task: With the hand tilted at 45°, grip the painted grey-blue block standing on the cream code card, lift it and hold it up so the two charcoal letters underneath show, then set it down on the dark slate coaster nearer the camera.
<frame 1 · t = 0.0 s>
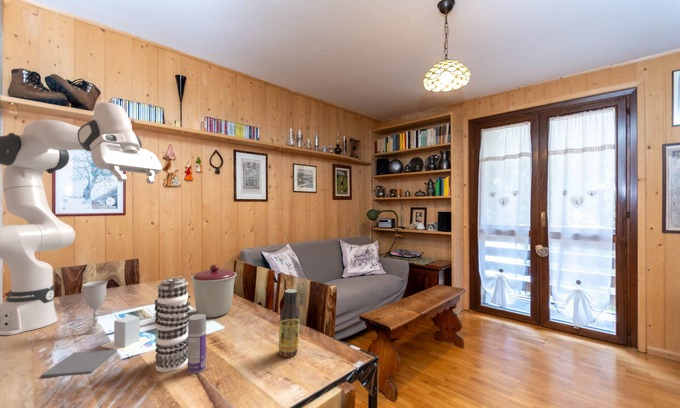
hand: (137, 182, 95), 54 cm above the table, tool tilted 30°, fingers open, 8 cm apart
slate coaster: (81, 364, 86), on the table
chalice: (95, 332, 107), on the table
container: (196, 369, 83), on the table
code card: (127, 343, 98), on the table
grey blue block: (127, 342, 98), resting on code card
canister: (214, 313, 126), on the table
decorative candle: (172, 364, 86), on the table
sauce bottle: (288, 353, 93), on the table
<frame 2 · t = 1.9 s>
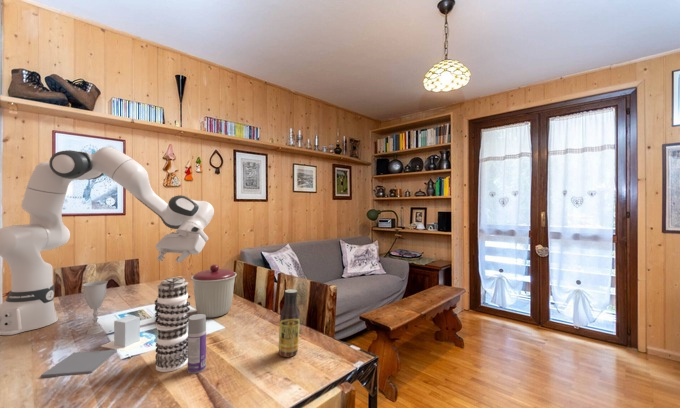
hand: (168, 260, 113), 25 cm above the table, tool tilted 45°, fingers open, 8 cm apart
nothing on the table moved.
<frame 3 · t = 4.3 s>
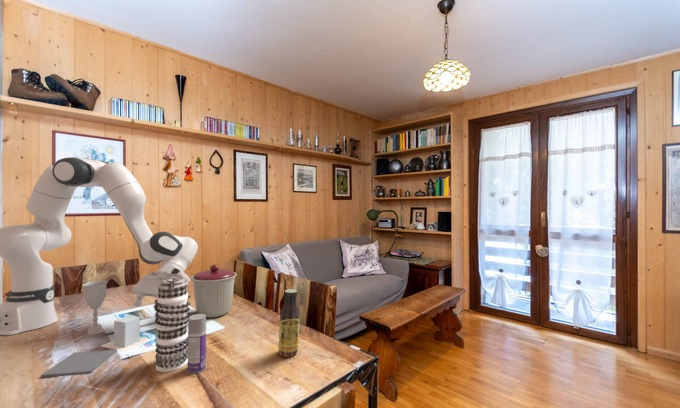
hand: (145, 307, 105), 10 cm above the table, tool tilted 45°, fingers open, 8 cm apart
nothing on the table moved.
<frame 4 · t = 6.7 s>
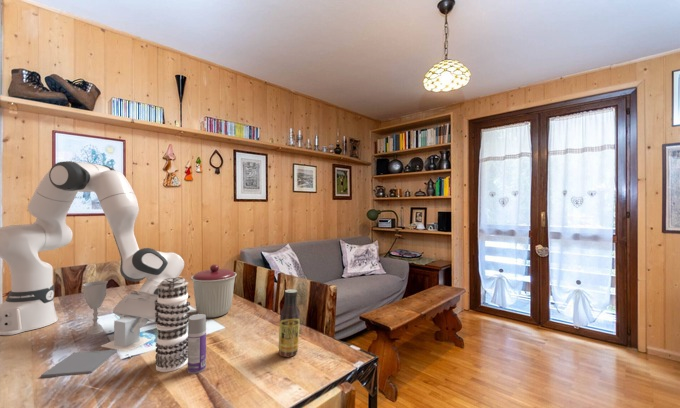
hand: (125, 331, 98), 4 cm above the table, tool tilted 45°, fingers closed on grey blue block, 5 cm apart
grey blue block: (127, 342, 98), resting on code card, touching gripper
everything else where it was.
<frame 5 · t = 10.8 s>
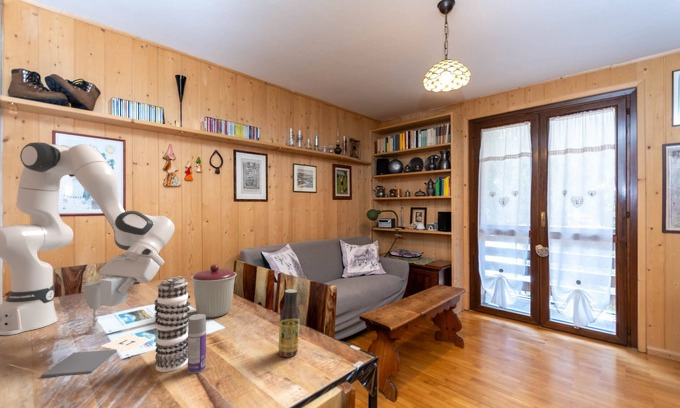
hand: (111, 290, 94), 19 cm above the table, tool tilted 45°, fingers closed on grey blue block, 5 cm apart
grey blue block: (113, 303, 94), point 15 cm above the table, touching gripper
everything else where it was.
when the fingers open (6 cm above the table, at t = 15.0 s): grey blue block drops 1 cm, resting on slate coaster.
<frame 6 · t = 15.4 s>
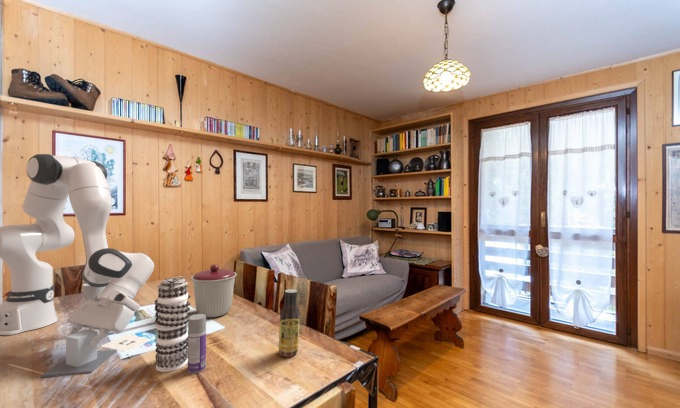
hand: (79, 343, 85), 6 cm above the table, tool tilted 45°, fingers open, 8 cm apart
grey blue block: (81, 361, 86), point 1 cm above the table, touching slate coaster
everything else where it was.
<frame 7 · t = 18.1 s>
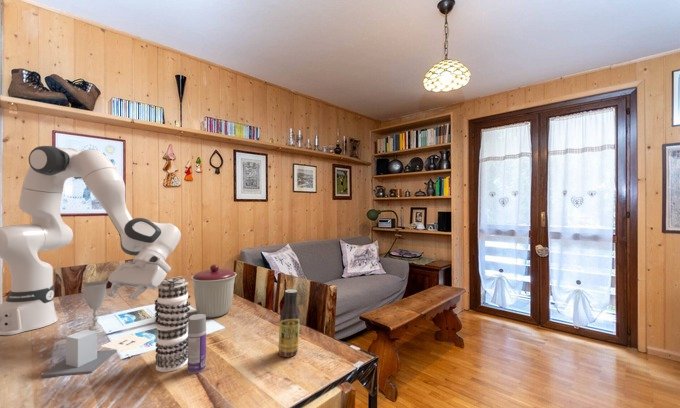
hand: (120, 297, 96), 16 cm above the table, tool tilted 45°, fingers open, 8 cm apart
nothing on the table moved.
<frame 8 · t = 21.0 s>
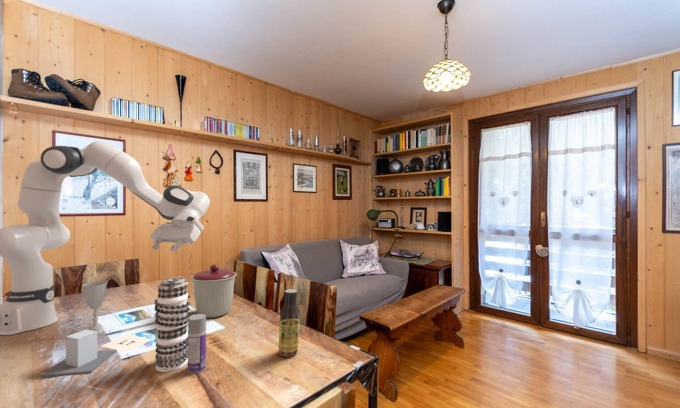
hand: (163, 249, 113), 29 cm above the table, tool tilted 45°, fingers open, 8 cm apart
nothing on the table moved.
at the end: grey blue block inside the target area on the slate coaster (0.1 cm from its centre), point 0.8 cm above the slate coaster's base; grey blue block tilted 0°; grey blue block touching slate coaster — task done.
